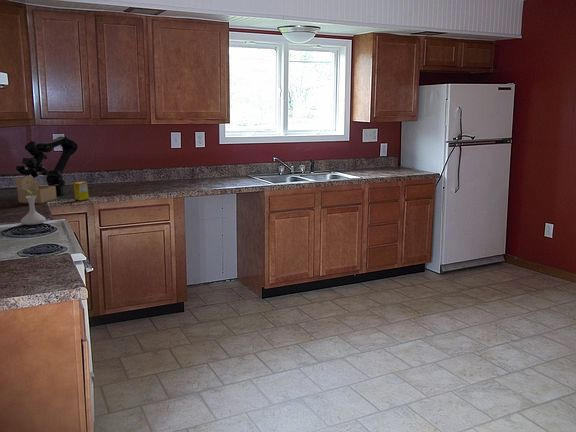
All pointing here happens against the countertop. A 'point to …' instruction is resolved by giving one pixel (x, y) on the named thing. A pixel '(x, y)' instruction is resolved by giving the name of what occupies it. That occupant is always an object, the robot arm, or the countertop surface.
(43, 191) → the carton
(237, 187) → the countertop surface
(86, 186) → the supplement box
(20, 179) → the carton flap
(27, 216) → the flower in vase
